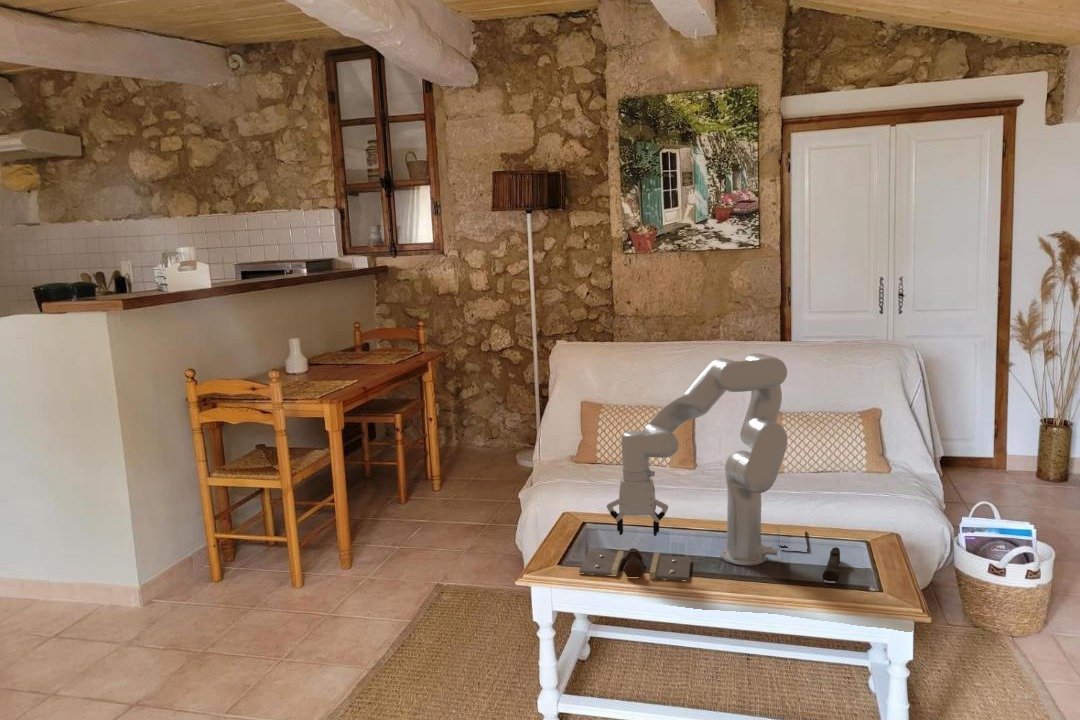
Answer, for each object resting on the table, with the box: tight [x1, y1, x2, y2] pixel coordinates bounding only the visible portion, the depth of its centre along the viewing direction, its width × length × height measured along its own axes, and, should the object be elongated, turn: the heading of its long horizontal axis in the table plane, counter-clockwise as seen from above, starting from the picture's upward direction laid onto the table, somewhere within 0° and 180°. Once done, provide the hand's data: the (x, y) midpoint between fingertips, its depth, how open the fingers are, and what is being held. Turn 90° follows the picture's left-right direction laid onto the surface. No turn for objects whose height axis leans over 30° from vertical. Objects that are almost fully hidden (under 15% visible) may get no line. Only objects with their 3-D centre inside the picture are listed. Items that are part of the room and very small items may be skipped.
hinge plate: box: [579, 550, 692, 581], centre depth 226 cm, size 30×15×2 cm, turn 77°
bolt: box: [622, 548, 645, 578], centre depth 226 cm, size 6×5×15 cm
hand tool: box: [822, 546, 841, 583], centre depth 220 cm, size 19×4×5 cm, turn 153°
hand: (638, 533), depth 225 cm, fingers open, 9 cm apart
